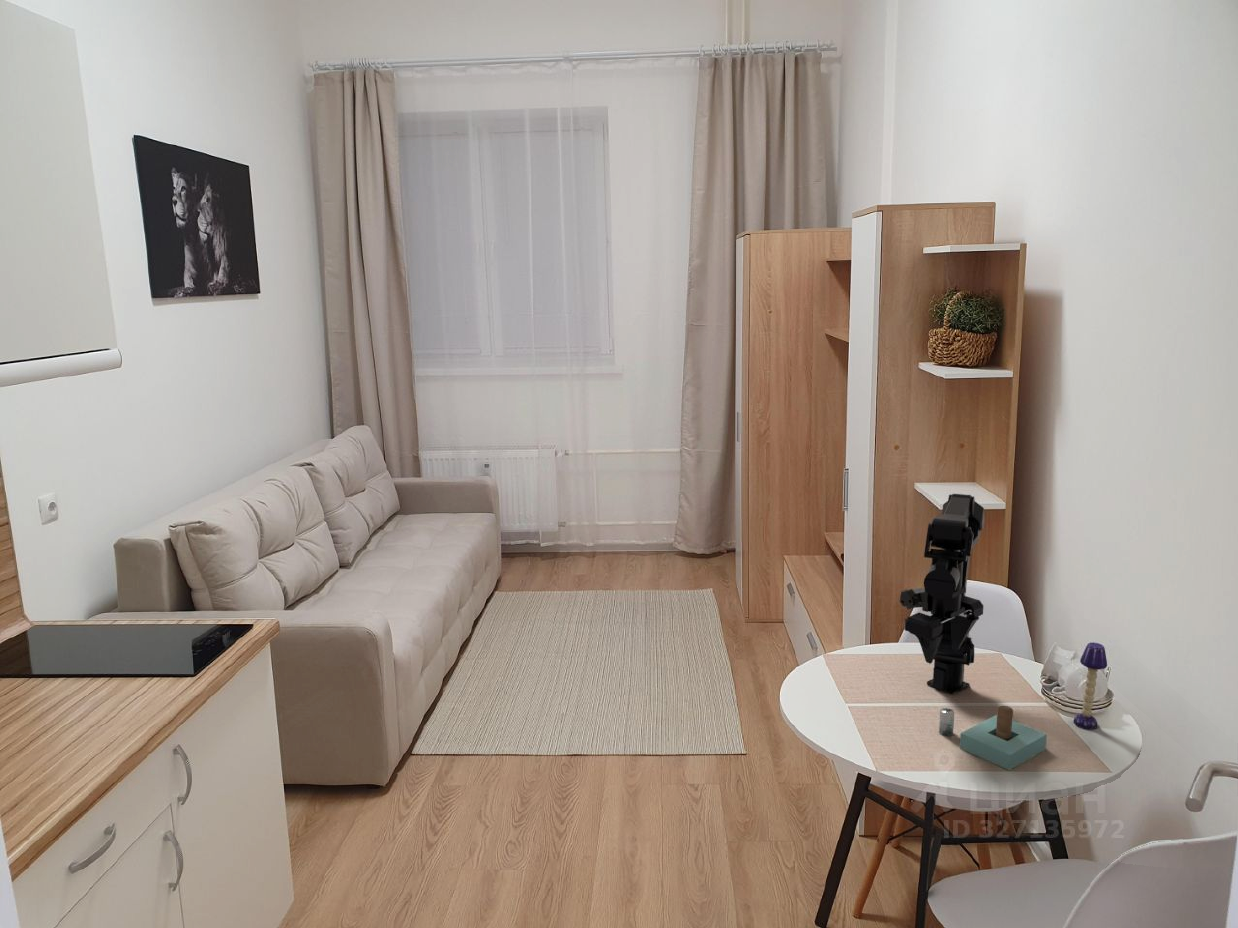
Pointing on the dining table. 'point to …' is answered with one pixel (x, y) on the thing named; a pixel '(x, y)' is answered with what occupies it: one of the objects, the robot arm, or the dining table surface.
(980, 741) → the collar block
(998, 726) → the walnut dowel
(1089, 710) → the toy lamp
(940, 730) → the grey stub
